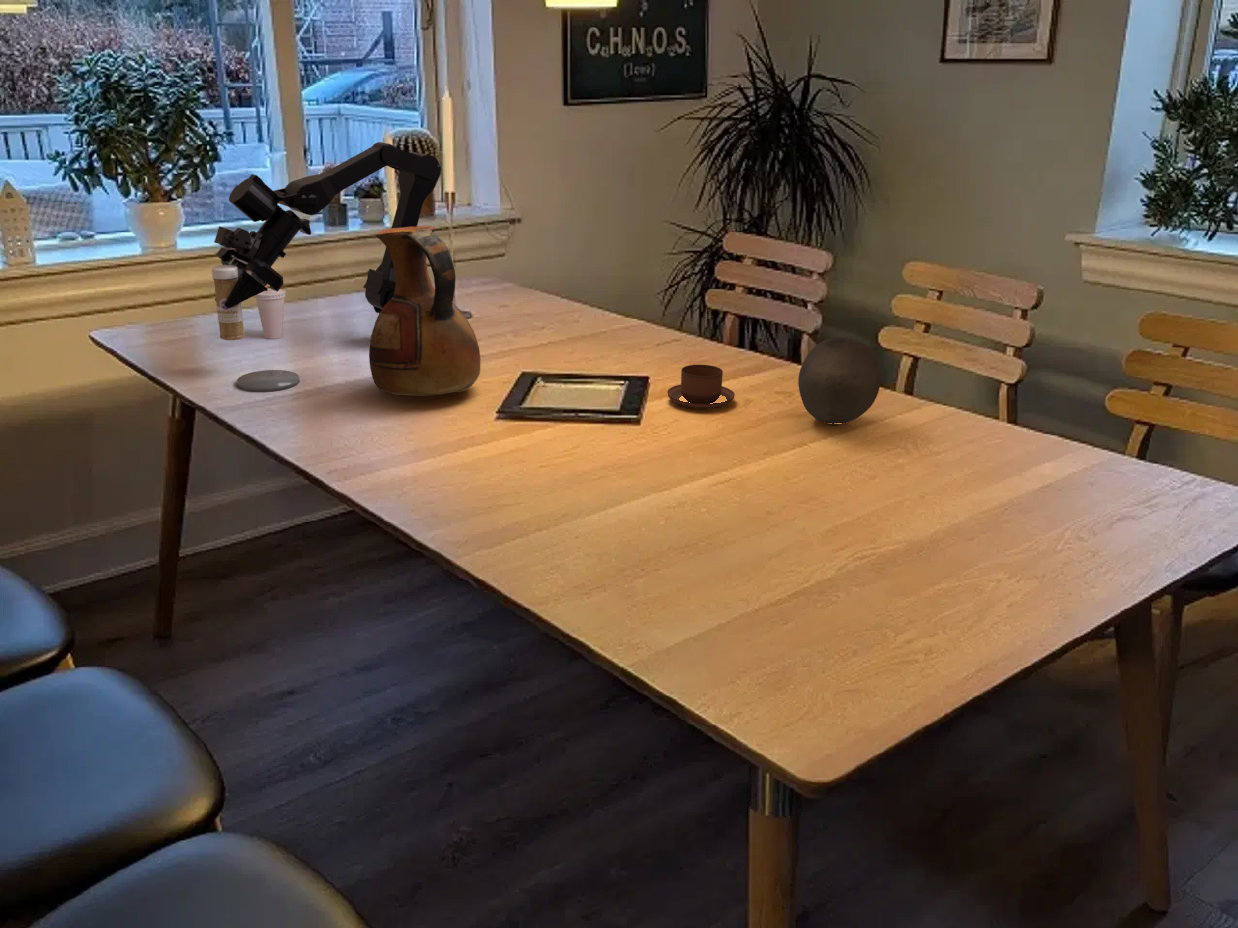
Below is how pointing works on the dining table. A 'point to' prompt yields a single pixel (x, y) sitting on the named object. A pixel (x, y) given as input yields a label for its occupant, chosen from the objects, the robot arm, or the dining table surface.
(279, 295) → the smoothie
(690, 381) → the cup and saucer
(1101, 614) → the dining table surface
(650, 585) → the dining table surface
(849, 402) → the dark charcoal ball
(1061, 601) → the dining table surface
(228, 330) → the sprinkles bottle
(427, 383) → the ceramic pitcher
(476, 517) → the dining table surface
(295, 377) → the slate gray plate
